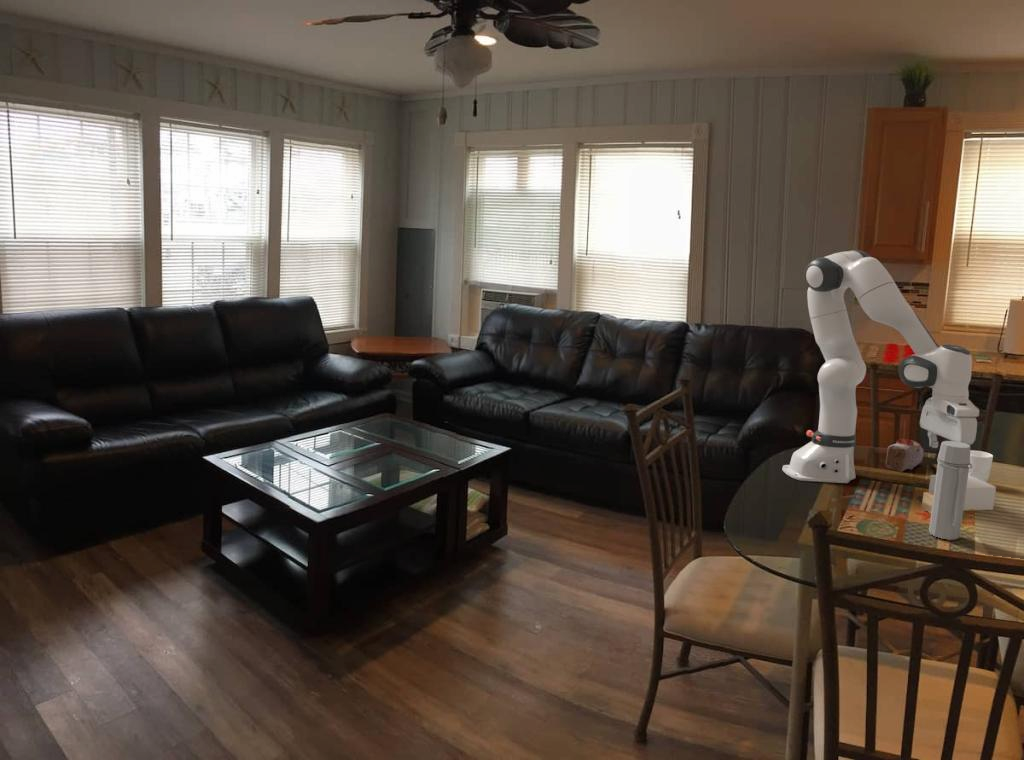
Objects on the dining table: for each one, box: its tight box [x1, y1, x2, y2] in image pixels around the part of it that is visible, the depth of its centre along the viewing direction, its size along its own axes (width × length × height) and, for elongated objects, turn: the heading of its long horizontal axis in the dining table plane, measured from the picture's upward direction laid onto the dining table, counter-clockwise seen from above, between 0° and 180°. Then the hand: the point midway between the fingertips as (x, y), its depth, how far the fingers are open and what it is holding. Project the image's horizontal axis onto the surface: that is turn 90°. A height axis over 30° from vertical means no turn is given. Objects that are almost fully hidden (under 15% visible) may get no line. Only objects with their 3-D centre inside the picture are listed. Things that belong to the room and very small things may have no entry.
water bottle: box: [928, 440, 972, 541], centre depth 204 cm, size 9×8×25 cm
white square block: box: [928, 474, 997, 511], centre depth 233 cm, size 12×12×7 cm
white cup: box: [968, 449, 994, 483], centre depth 250 cm, size 8×8×10 cm
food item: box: [885, 438, 924, 473], centre depth 267 cm, size 14×8×10 cm, turn 132°
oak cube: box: [921, 491, 934, 514], centre depth 225 cm, size 5×5×5 cm
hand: (943, 451), depth 222 cm, fingers open, 8 cm apart
